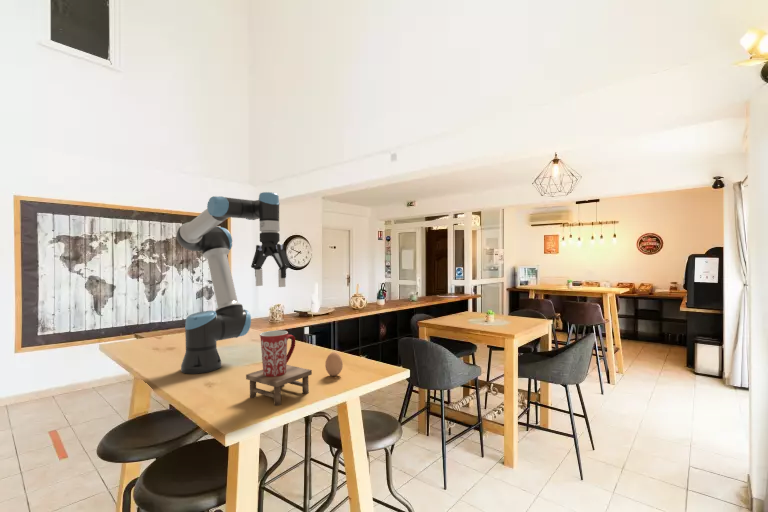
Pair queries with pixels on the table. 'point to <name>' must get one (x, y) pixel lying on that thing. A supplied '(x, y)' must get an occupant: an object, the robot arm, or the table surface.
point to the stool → (279, 382)
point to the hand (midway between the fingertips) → (270, 286)
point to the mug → (275, 352)
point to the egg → (333, 364)
